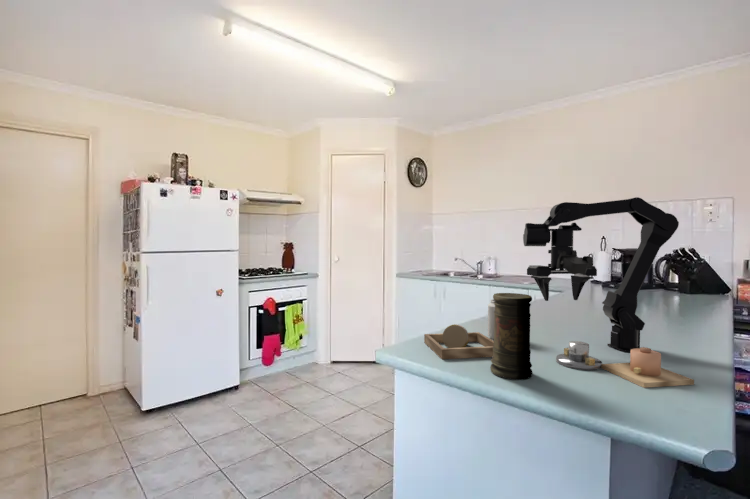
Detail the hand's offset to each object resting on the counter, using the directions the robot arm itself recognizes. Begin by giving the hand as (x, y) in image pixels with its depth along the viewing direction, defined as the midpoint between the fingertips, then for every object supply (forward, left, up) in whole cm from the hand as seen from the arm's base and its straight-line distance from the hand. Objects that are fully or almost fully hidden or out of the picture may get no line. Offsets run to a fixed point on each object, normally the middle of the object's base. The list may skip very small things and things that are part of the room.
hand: (561, 300), depth 111 cm
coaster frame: (+30, 0, -13) cm, 33 cm away
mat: (-3, +26, -13) cm, 29 cm away
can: (+14, -9, -13) cm, 21 cm away
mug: (+31, -2, -13) cm, 33 cm away
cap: (-3, +26, -12) cm, 29 cm away
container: (+26, +20, -13) cm, 35 cm away
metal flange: (+6, +16, -13) cm, 21 cm away
